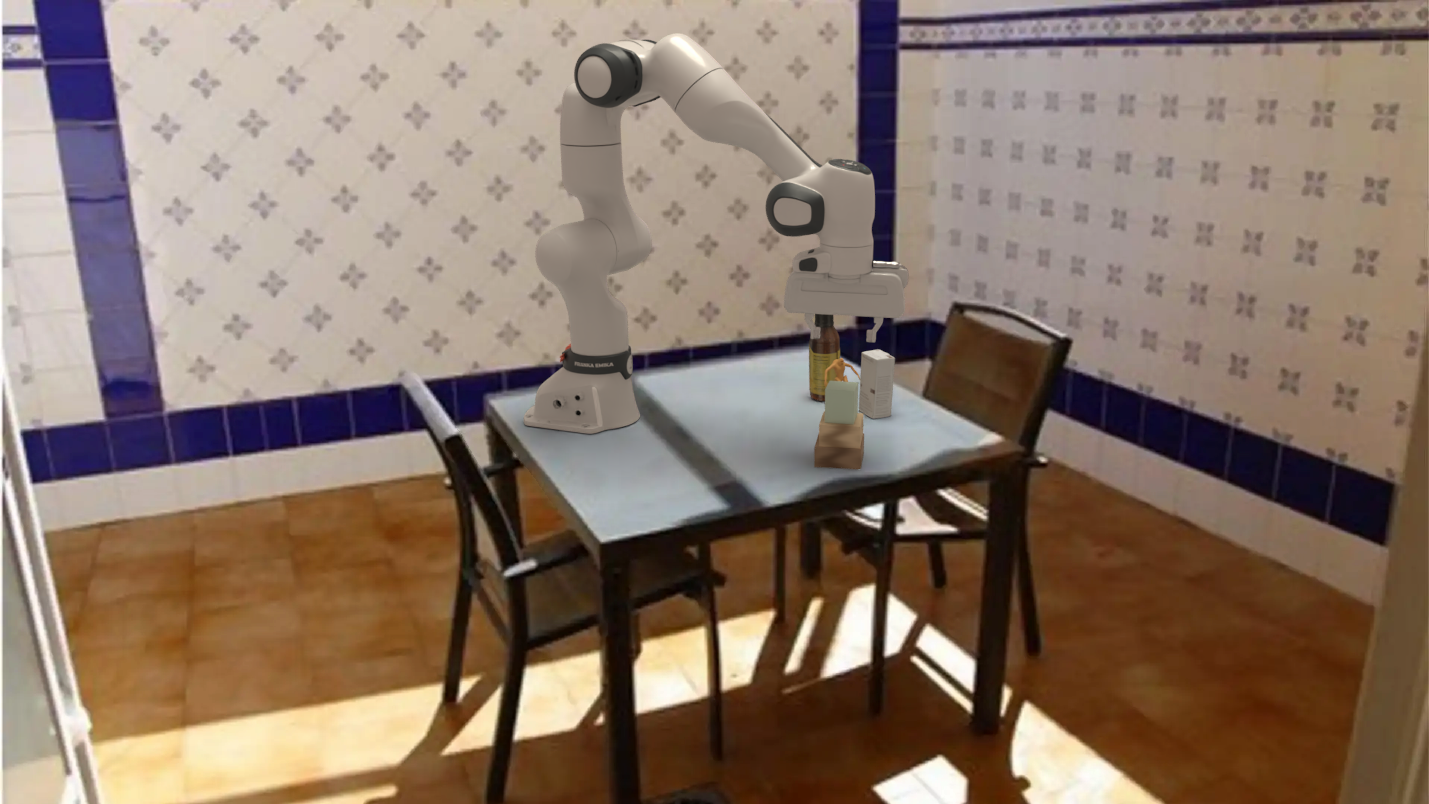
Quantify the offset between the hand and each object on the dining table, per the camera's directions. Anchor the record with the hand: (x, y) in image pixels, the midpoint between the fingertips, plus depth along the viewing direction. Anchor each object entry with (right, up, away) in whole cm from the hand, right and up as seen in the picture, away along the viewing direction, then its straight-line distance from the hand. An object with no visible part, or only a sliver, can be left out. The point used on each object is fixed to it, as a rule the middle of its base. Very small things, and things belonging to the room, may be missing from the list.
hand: (843, 339), depth 201 cm
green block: (0, -13, +4) cm, 14 cm away
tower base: (0, -21, +7) cm, 22 cm away
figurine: (+3, -14, +28) cm, 31 cm away
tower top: (0, -17, +6) cm, 18 cm away
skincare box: (+10, -13, +30) cm, 34 cm away
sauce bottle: (0, -10, +40) cm, 41 cm away
